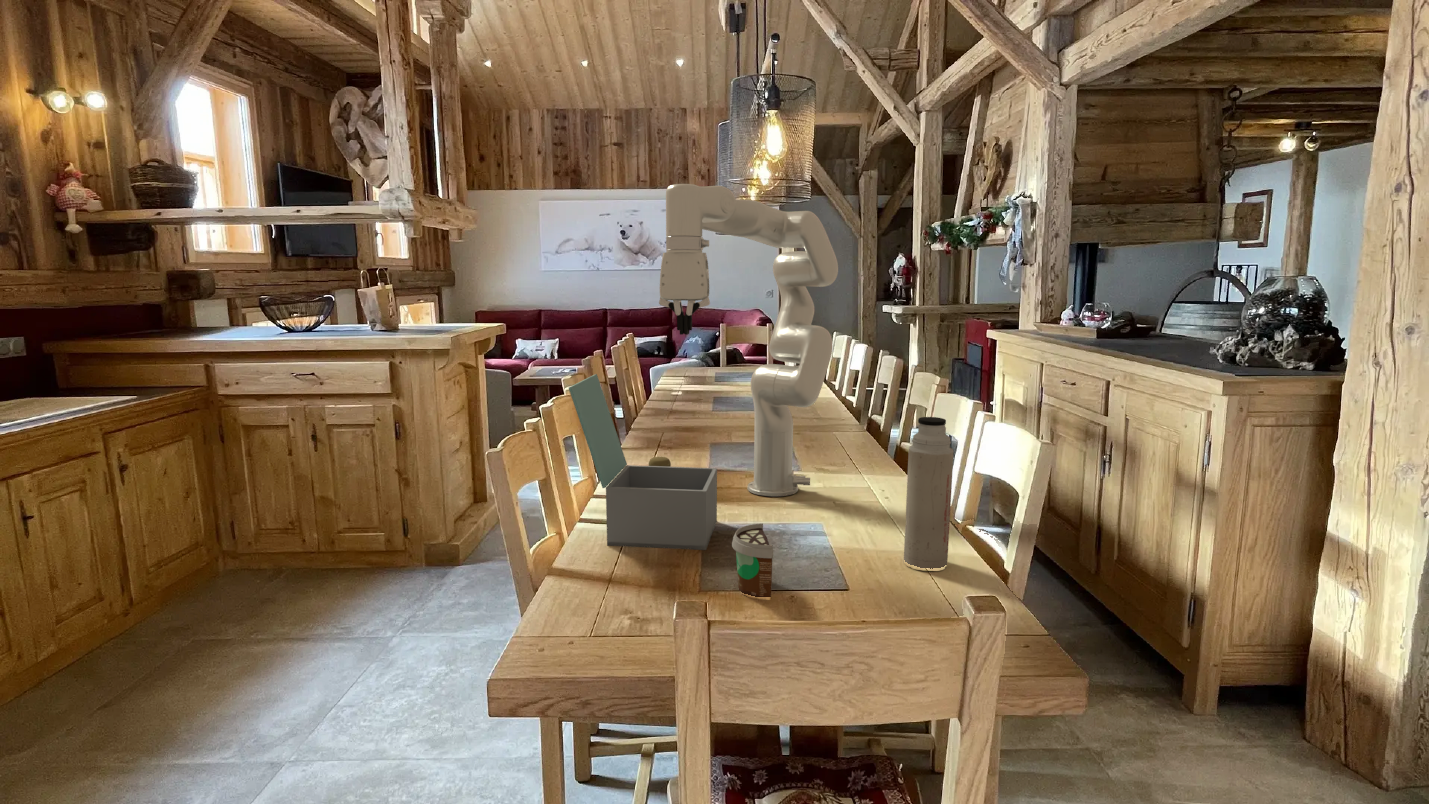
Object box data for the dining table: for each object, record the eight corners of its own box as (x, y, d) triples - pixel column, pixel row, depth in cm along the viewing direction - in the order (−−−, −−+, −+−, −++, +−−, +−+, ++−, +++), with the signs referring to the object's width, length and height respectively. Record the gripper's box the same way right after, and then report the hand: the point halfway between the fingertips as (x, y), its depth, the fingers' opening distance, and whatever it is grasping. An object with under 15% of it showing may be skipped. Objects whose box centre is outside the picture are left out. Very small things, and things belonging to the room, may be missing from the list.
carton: (716, 521, 173) (716, 468, 171) (705, 550, 156) (706, 491, 154) (627, 517, 176) (626, 465, 174) (607, 545, 158) (605, 487, 156)
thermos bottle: (952, 561, 150) (960, 417, 145) (940, 575, 143) (948, 424, 139) (911, 553, 154) (917, 412, 149) (897, 566, 147) (904, 419, 143)
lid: (596, 373, 171) (594, 374, 171) (571, 386, 153) (568, 387, 153) (627, 464, 174) (624, 465, 174) (605, 487, 156) (602, 488, 156)
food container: (728, 576, 143) (728, 523, 141) (761, 575, 143) (762, 522, 141) (735, 605, 131) (736, 547, 129) (772, 603, 131) (773, 546, 129)
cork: (669, 507, 183) (668, 461, 181) (644, 505, 184) (643, 459, 183) (675, 499, 189) (675, 455, 187) (651, 498, 190) (650, 453, 188)
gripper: (721, 246, 167) (721, 333, 170) (652, 246, 169) (653, 332, 172) (717, 245, 159) (717, 336, 163) (645, 245, 161) (646, 335, 164)
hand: (684, 333), depth 167 cm, fingers closed
